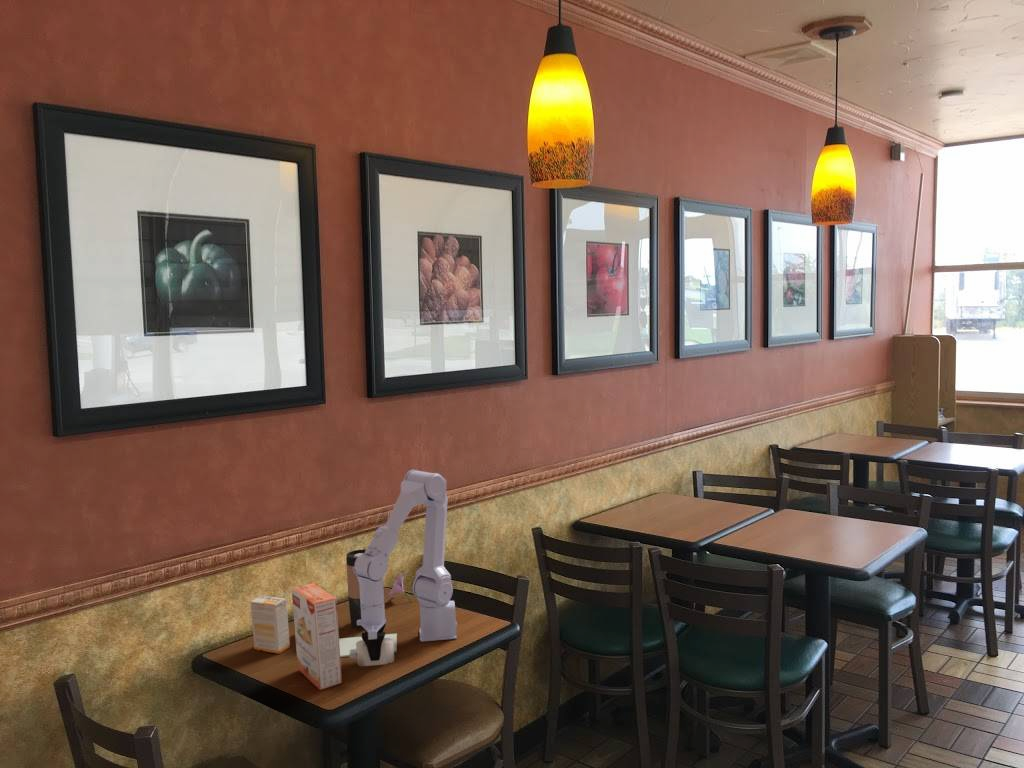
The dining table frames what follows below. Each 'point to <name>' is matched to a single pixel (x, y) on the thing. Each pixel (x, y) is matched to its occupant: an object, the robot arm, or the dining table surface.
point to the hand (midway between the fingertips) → (375, 656)
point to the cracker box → (317, 635)
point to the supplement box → (270, 624)
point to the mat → (350, 643)
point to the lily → (398, 586)
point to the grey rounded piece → (363, 654)
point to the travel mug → (353, 588)
